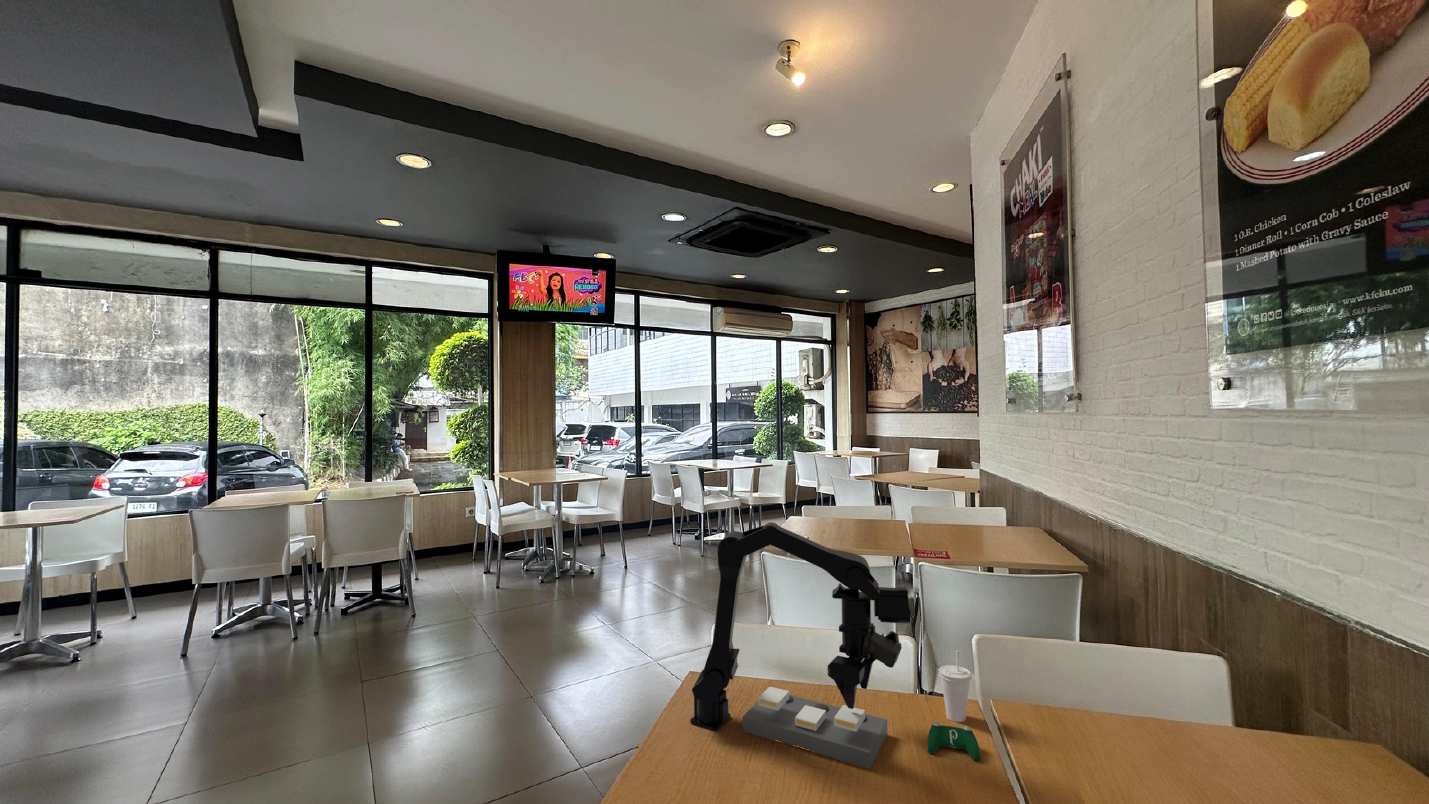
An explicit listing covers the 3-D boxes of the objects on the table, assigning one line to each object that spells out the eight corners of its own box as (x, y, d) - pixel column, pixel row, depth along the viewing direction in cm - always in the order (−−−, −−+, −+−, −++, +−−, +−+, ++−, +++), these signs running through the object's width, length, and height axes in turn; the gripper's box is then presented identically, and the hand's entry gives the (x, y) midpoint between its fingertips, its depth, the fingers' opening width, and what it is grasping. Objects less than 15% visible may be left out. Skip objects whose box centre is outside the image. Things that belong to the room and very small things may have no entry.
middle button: (794, 725, 115) (794, 717, 115) (805, 712, 120) (805, 705, 120) (816, 731, 112) (815, 723, 112) (826, 717, 117) (825, 710, 117)
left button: (758, 705, 119) (758, 698, 119) (770, 693, 124) (769, 686, 124) (777, 710, 116) (777, 703, 117) (789, 698, 121) (789, 691, 121)
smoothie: (975, 726, 119) (974, 658, 119) (942, 723, 120) (941, 656, 121) (968, 710, 125) (967, 645, 126) (937, 708, 127) (936, 643, 127)
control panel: (742, 731, 119) (742, 715, 119) (769, 703, 130) (769, 688, 130) (869, 769, 106) (869, 751, 106) (887, 734, 117) (887, 718, 117)
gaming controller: (979, 766, 109) (976, 731, 113) (981, 760, 107) (978, 724, 111) (927, 757, 112) (926, 724, 116) (927, 751, 110) (926, 717, 114)
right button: (833, 725, 111) (833, 718, 111) (843, 712, 116) (843, 704, 116) (856, 732, 108) (856, 724, 108) (865, 717, 113) (865, 710, 113)
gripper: (885, 644, 105) (886, 731, 105) (907, 612, 121) (909, 687, 121) (825, 632, 111) (827, 715, 110) (854, 604, 127) (856, 676, 126)
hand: (857, 697), depth 117 cm, fingers open, 9 cm apart
